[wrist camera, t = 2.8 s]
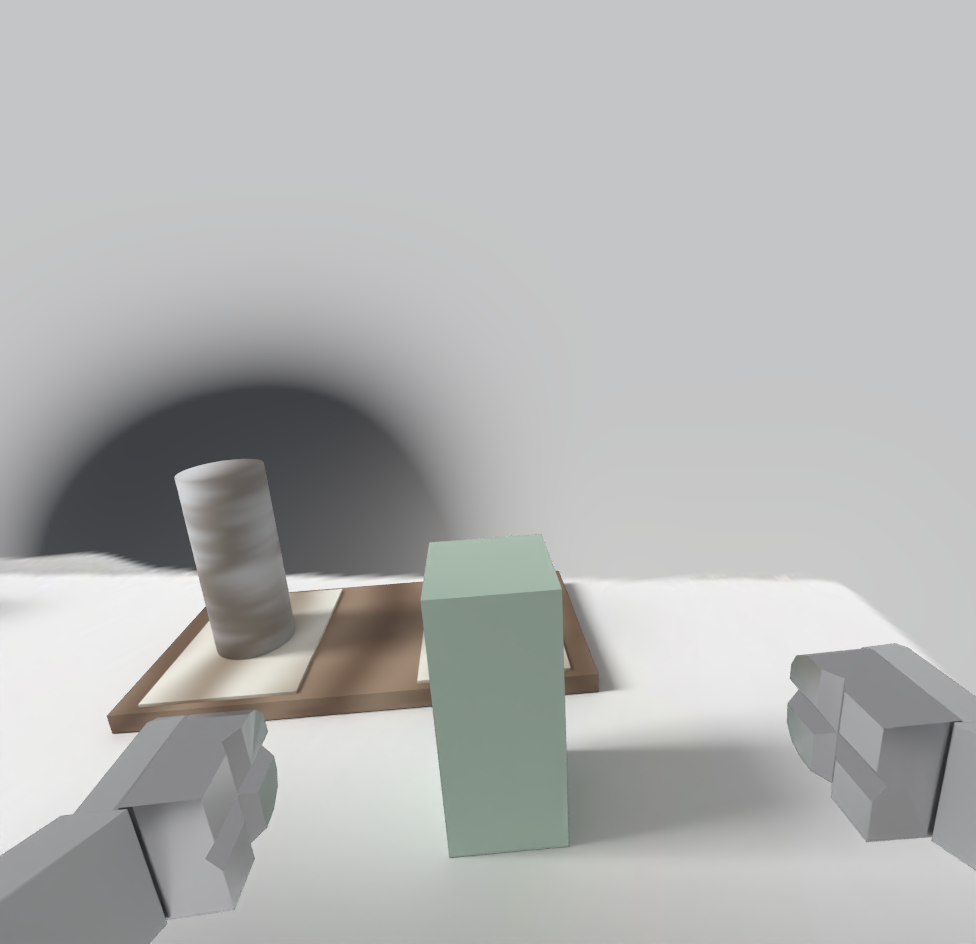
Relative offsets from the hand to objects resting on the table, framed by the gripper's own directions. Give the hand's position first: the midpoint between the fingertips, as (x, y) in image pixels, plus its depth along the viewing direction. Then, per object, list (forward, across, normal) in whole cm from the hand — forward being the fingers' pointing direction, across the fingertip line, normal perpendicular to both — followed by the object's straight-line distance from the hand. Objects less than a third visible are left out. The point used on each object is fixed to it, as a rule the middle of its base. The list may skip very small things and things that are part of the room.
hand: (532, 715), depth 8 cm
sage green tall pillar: (+12, +1, +15) cm, 20 cm away
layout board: (+25, +9, +15) cm, 31 cm away
